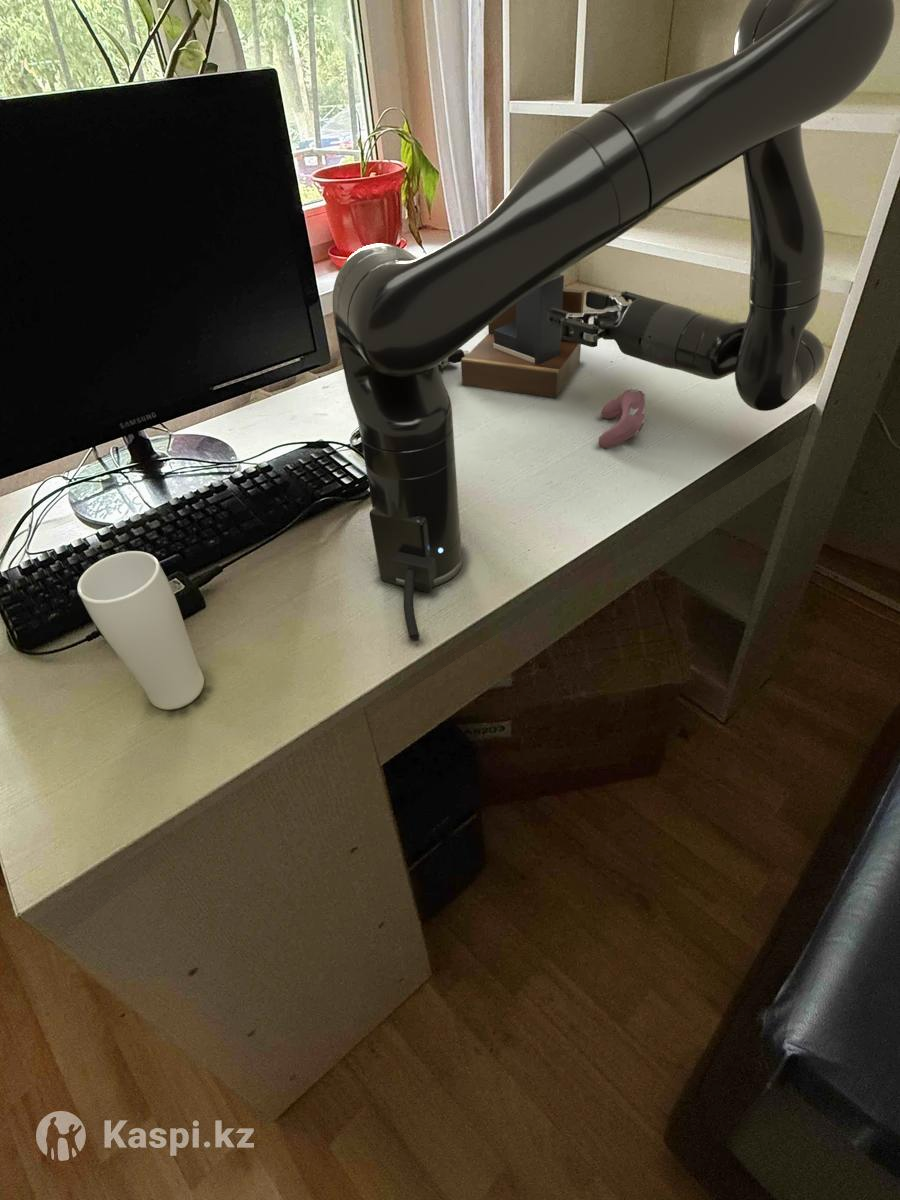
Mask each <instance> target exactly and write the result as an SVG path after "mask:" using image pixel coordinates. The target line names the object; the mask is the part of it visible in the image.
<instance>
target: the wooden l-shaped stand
mask: <svg viewBox="0 0 900 1200" xmlns="http://www.w3.org/2000/svg"><path fill="white" fill-rule="evenodd" d="M584 302H585V289H575V288H573V289H572V288H563V306H562V310H564V311H567V312H570V313H583V312H584V304H585V303H584ZM514 321H516V303H515V304H514V305H513V306H511V307H510V308H509V309H507V310H506V311H505V312H504V313H502V314H501V315H500V316H498V317H497V318H496V319H495V320H494V321H492V322H491V323H490V324H489V325H487V327H488V328H487V329H488V331H487V332H488V333H487V335H486V336H484V337H483V338H482V339H481V340H480V341H479V342H478V344H477V345H475V346H474V348H473V349H472V350H471V351H469V352H470V353H469V354H468V355H467V356H466V357H463V358H462V359H461V362H460V369H461V384H462V386H467V387H474V388H480V389H481V388H482V389H489V390H495V391H504V392H509V393H516V394H524V395H530V396H538V397H545V398H552V399H556V398H557V397H558V396H559V394H560V393H561V391H562V390H563V389H564V387H565V386H566V384H567V383H568V381H569V380H570V379H571V377H572V375H573V374H574V373H575V371H576V370H577V369H578V367H579V366H580V363H581V350H582V349H581V348H582V346H581V345H582V344H579V343H575V342H572V341H569V340H565V339H562V338H561V349H560V355H558V356H556V357H554V358H552V359H550V360H548V361H546V362H543V363H541V364H536V363H532V362H529V361H527V360H524V359H522V358H519V357H516V356H514V355H511V354H508V353H506V352H503V351H500V350H498V349H495V348H494V346H493V344H494V330H495V329H498V328H500V327H502V326H505V325H507V324H509V323H512V322H514ZM576 321H580V322H583V320H576Z"/></svg>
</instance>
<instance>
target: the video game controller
mask: <svg viewBox="0 0 900 1200" xmlns="http://www.w3.org/2000/svg"><path fill="white" fill-rule="evenodd" d="M645 395H646V394H645V393H644V392H643V390H639V389H637V388H636V389H635V388H634V389H633V388H632V387H630V388H629V389H626V390H625V391H623V392H622V393H621V394H620V395H618V396H617V397H615V398H614V399H612V400H610V401H608V402H607V403H605V404H604V405H603V406H602V408H601V410H600V415H601V417H602V418H603V419H605V420H611V419H616V418H618V417H620V419H619V421H618V422H617V423H616V424H614V425H613V426H611V427H610V428H608V429H607V430H604V431H603V433H602V434H601V435H600V436H599V437H598V445H599V446H600V447H601V448H603V449H607V448H614V447H617V446H619V445H621V444H623V443H624V442H626V441H627V440H629V439H630V438H633V437H634V436H635V435H636V434H637V433H638V432H641V431H643V430H644V427H645V423H644V420H645V413H644V409H645V405H646V403H645V402H646V396H645Z"/></svg>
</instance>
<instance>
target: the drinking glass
mask: <svg viewBox="0 0 900 1200" xmlns="http://www.w3.org/2000/svg"><path fill="white" fill-rule="evenodd" d="M78 579H79V580H78V582H77V587H76V591H77V594H78V596H79V597H80V600H81V602H82V603H83V605H84V607H85V609H86V612H87V613H88V615H89V617H90V618H91V620H92V622H93V624H94V625H95V627H96V628H97V629H98V631H99V632H100V634H101V635H102V637H103V638H104V639H105V641H106V642H107V643H108V645H109V646H110V647H111V649H112V650H113V651H114V652H115V654H116V655H117V657H118V658H119V659H120V661H121V662H122V663H123V665H124V666H125V667H126V669H127V670H128V671H129V673H130V674H131V675H132V677H133V678H134V679H135V681H136V682H137V683H138V685H139V686H140V688H141V690H142V691H143V692H144V694H145V696H146V697H147V699H148V701H149V702H150V703H151V704H152V705H153V706H154V707H156V708H157V709H161V710H166V711H167V710H168V711H169V710H171V711H172V710H177V709H180V708H183V707H185V706H188V705H189V704H191V703H192V702H194V701H195V700H196V699H197V698H198V697H199V696H200V695H201V693H202V691H203V689H204V686H205V677H204V674H203V672H202V670H201V667H200V665H199V663H198V660H197V657H196V654H195V651H194V649H193V648H194V647H193V645H192V642H191V639H190V637H189V634H188V631H187V627H186V624H185V621H184V618H183V615H182V611H181V608H180V606H179V603H178V600H177V598H176V595H175V593H174V591H173V588H172V585H171V583H170V581H169V579H168V577H167V575H166V573H165V572H164V569H163V567H162V565H161V564H160V561H159V560H158V558H156V557H155V556H154V555H153V554H151V553H148V552H145V551H140V550H127V551H121V552H118V553H115V554H111V555H109V556H106V557H104V558H101V559H100V560H98V561H97V562H95V563H93V564H92V565H91V566H89V567H88V568H87V569H86V570H85V571H84V572H83V573H82V574H81V576H80V577H79V578H78Z"/></svg>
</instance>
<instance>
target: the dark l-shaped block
mask: <svg viewBox="0 0 900 1200" xmlns="http://www.w3.org/2000/svg"><path fill="white" fill-rule="evenodd" d="M564 281H565V274H559V275H558V276H556V277H555V278H553V279H552V280H550V281H549V282H547V283H546V284H544V285H542V286H541V287H539V288H538V289H536V290H534V291H533V292H531V293H530V294H528V295H527V296H525V297H524V298H522V299H521V300H519V301H518V302H517V303H516V321H514V322H512V323H509V324H507V325H505V326H502V327H500V328H498V329H495V330H494V344H493V346H494V348H495V349H498V350H500V351H503V352H506V353H508V354H511V355H514V356H516V357H519V358H522V359H524V360H527V361H529V362H532V363H536V364H541V363H543V362H546V361H548V360H550V359H552V358H554V357H556V356H558V355H560V349H561V338H560V333H561V328H559V327H556V326H553V325H550V324H548V323H547V310H548V309H549V308H551V307H554V308H557V309H561V310H562V306H563V289H564V284H565V283H564Z"/></svg>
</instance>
